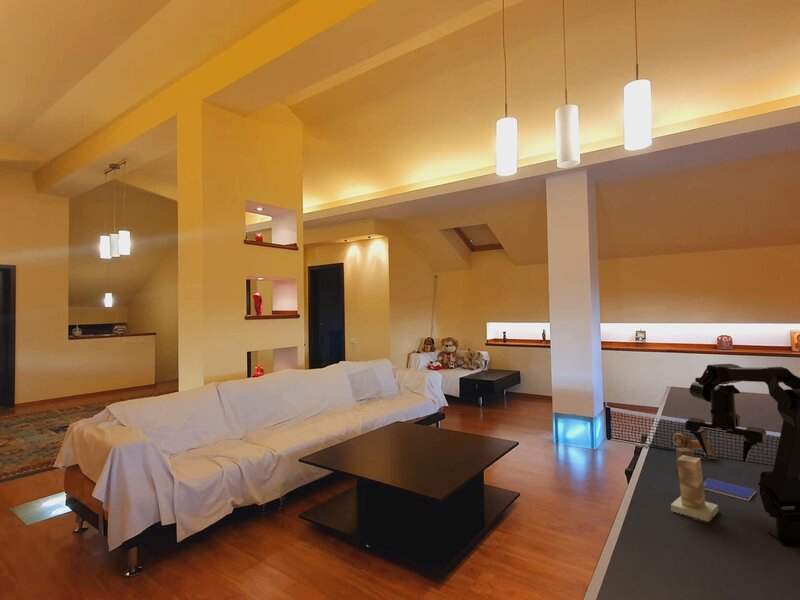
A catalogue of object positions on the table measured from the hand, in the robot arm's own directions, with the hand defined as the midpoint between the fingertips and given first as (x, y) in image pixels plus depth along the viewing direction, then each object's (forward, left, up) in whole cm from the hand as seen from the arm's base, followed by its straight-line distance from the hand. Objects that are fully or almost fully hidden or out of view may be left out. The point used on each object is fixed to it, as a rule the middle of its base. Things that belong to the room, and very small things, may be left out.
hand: (725, 458), depth 126 cm
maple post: (-7, +12, -11) cm, 18 cm away
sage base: (-7, +12, -14) cm, 19 cm away
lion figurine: (+37, -7, -13) cm, 40 cm away
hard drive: (+8, -4, -14) cm, 17 cm away
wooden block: (+22, +2, -13) cm, 26 cm away
